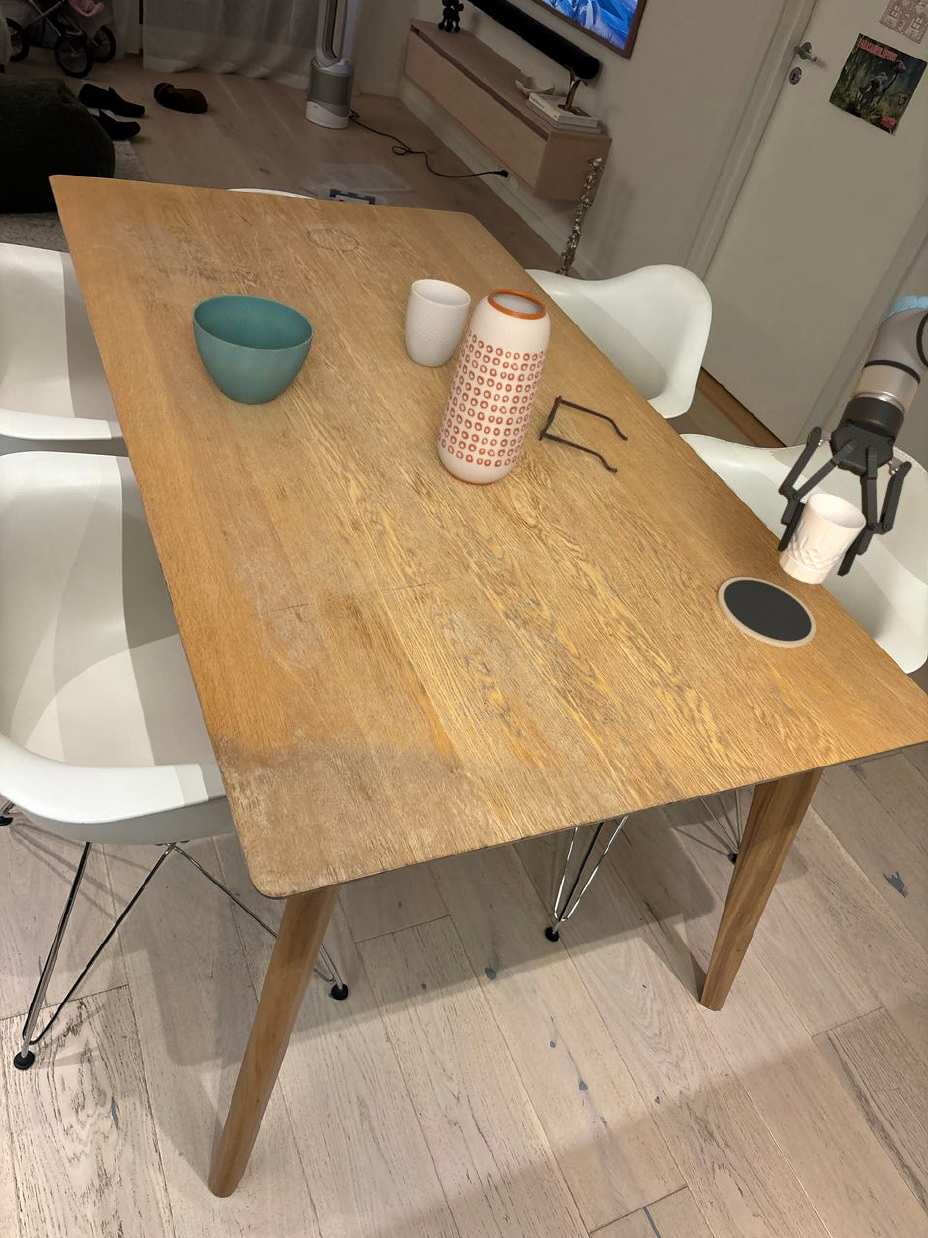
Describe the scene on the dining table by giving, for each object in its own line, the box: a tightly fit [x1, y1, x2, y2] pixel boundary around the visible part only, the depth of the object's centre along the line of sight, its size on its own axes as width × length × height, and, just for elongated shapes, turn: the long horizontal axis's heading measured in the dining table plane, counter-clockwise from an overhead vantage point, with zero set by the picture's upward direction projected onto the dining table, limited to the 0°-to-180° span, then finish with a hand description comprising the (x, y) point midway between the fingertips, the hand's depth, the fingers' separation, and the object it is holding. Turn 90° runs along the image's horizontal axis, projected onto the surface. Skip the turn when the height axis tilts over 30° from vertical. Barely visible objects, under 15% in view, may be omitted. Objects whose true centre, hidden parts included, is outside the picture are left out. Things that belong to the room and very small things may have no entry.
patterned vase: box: [436, 288, 552, 486], centre depth 138 cm, size 13×13×28 cm
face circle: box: [717, 576, 817, 649], centre depth 135 cm, size 15×15×1 cm
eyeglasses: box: [538, 395, 629, 473], centre depth 160 cm, size 15×15×5 cm
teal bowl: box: [192, 294, 315, 405], centre depth 145 cm, size 18×18×12 cm
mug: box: [404, 278, 472, 368], centre depth 170 cm, size 15×11×13 cm
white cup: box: [778, 492, 866, 585], centre depth 123 cm, size 8×8×10 cm
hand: (812, 561), depth 122 cm, fingers closed on white cup, 8 cm apart
